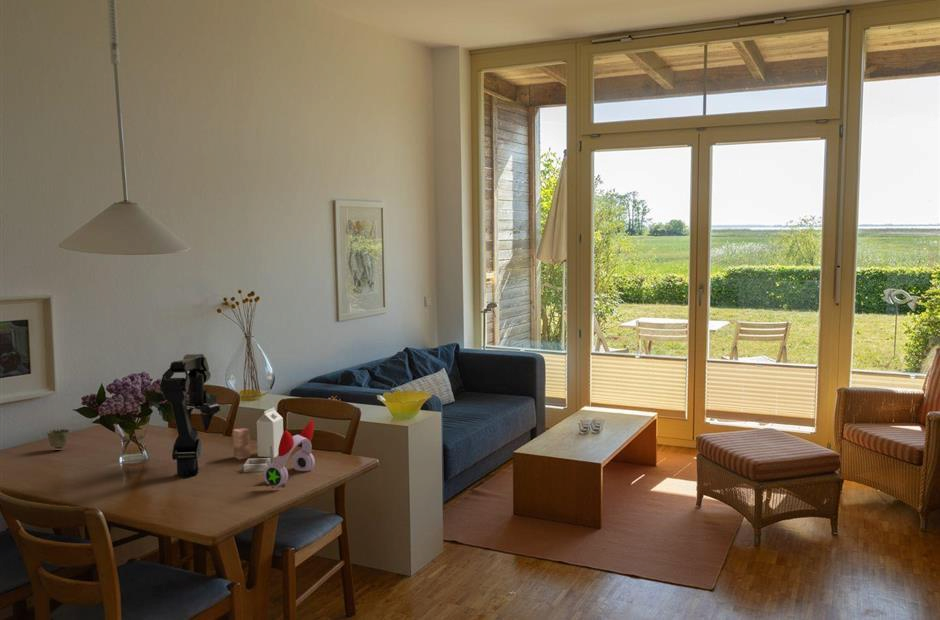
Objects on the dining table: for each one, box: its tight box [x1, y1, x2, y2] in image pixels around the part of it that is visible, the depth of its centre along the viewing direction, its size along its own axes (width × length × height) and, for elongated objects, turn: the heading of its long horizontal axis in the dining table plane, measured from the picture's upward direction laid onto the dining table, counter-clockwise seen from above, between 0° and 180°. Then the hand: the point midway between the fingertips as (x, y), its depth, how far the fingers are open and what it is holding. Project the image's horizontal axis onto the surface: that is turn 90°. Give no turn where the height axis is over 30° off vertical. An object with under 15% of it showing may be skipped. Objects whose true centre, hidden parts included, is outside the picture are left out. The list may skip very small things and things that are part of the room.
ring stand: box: [232, 446, 275, 476], centre depth 275 cm, size 12×12×10 cm
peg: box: [232, 427, 251, 460], centre depth 290 cm, size 4×4×12 cm
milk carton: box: [256, 406, 284, 458], centre depth 293 cm, size 7×7×19 cm
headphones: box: [263, 418, 316, 488], centre depth 266 cm, size 20×10×20 cm, turn 159°
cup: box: [47, 428, 69, 450], centre depth 307 cm, size 8×7×8 cm
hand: (197, 429), depth 287 cm, fingers open, 9 cm apart
